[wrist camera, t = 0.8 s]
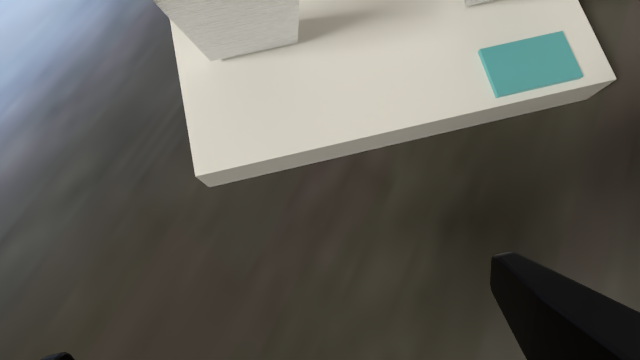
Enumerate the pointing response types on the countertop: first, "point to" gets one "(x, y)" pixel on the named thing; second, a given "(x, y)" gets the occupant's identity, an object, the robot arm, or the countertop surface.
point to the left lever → (234, 24)
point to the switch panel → (382, 79)
